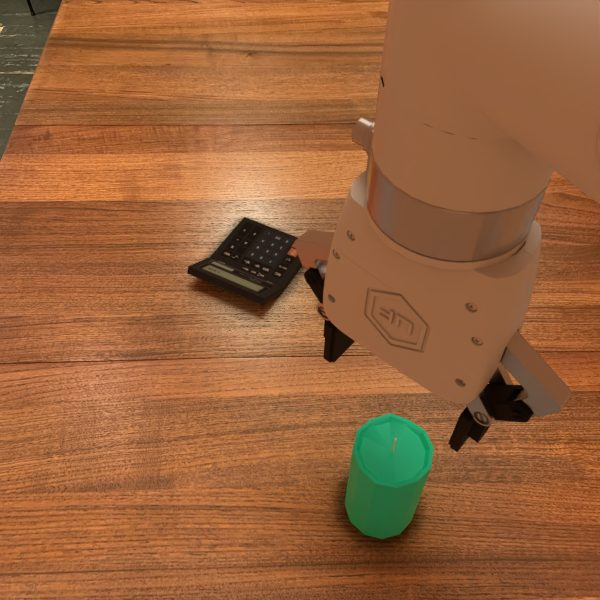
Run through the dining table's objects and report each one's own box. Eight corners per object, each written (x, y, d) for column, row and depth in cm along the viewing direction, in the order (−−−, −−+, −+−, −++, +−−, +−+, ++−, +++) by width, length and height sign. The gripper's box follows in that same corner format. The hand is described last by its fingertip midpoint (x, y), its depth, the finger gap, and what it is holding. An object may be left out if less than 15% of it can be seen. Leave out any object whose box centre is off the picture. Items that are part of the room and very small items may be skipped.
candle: (428, 516, 56) (455, 452, 46) (369, 552, 54) (385, 493, 44) (387, 460, 59) (405, 389, 50) (331, 492, 57) (338, 425, 48)
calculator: (314, 249, 76) (314, 230, 73) (263, 319, 69) (262, 301, 67) (244, 222, 78) (243, 203, 76) (189, 287, 72) (186, 268, 70)
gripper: (250, 144, 30) (262, 352, 44) (601, 344, 24) (488, 518, 37) (349, 76, 34) (332, 287, 47) (678, 232, 27) (550, 428, 41)
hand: (400, 388), depth 42 cm, fingers open, 9 cm apart
